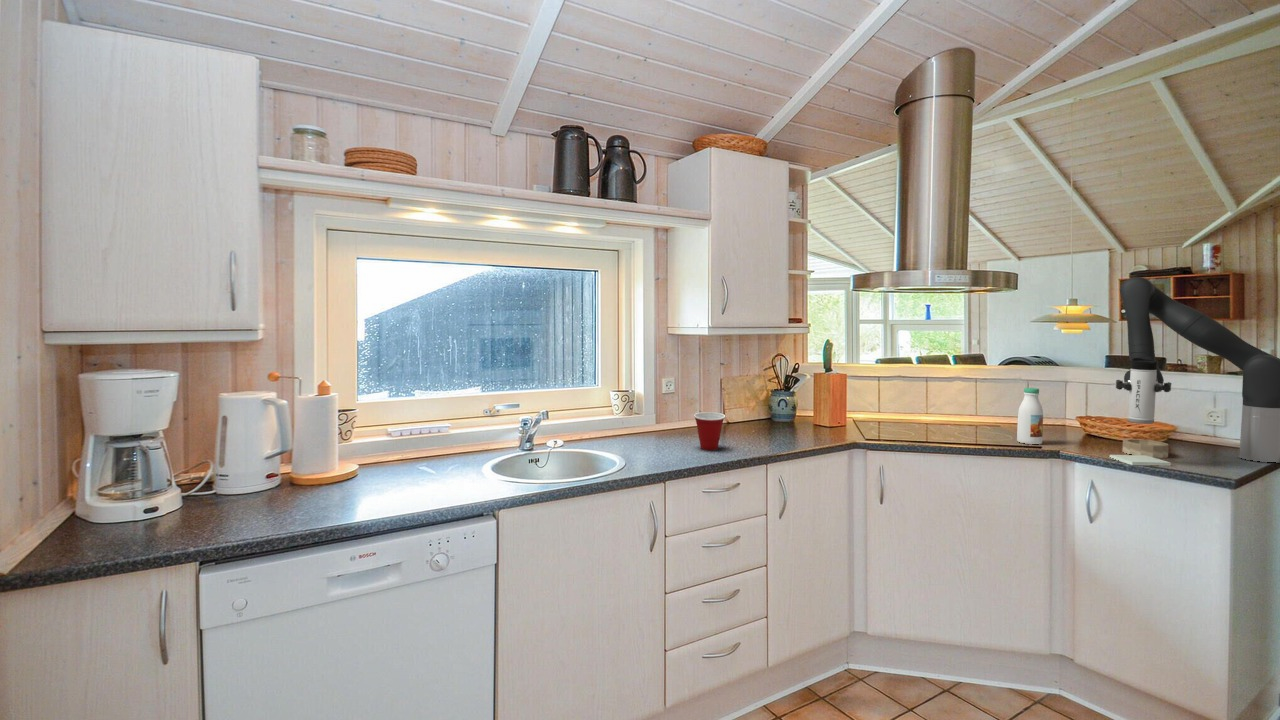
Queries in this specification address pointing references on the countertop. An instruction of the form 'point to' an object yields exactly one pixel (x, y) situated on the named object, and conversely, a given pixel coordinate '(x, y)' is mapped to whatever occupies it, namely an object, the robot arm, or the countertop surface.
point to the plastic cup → (709, 429)
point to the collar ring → (1145, 448)
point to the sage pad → (1140, 460)
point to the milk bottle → (1030, 418)
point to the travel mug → (1142, 391)
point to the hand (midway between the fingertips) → (1142, 388)
